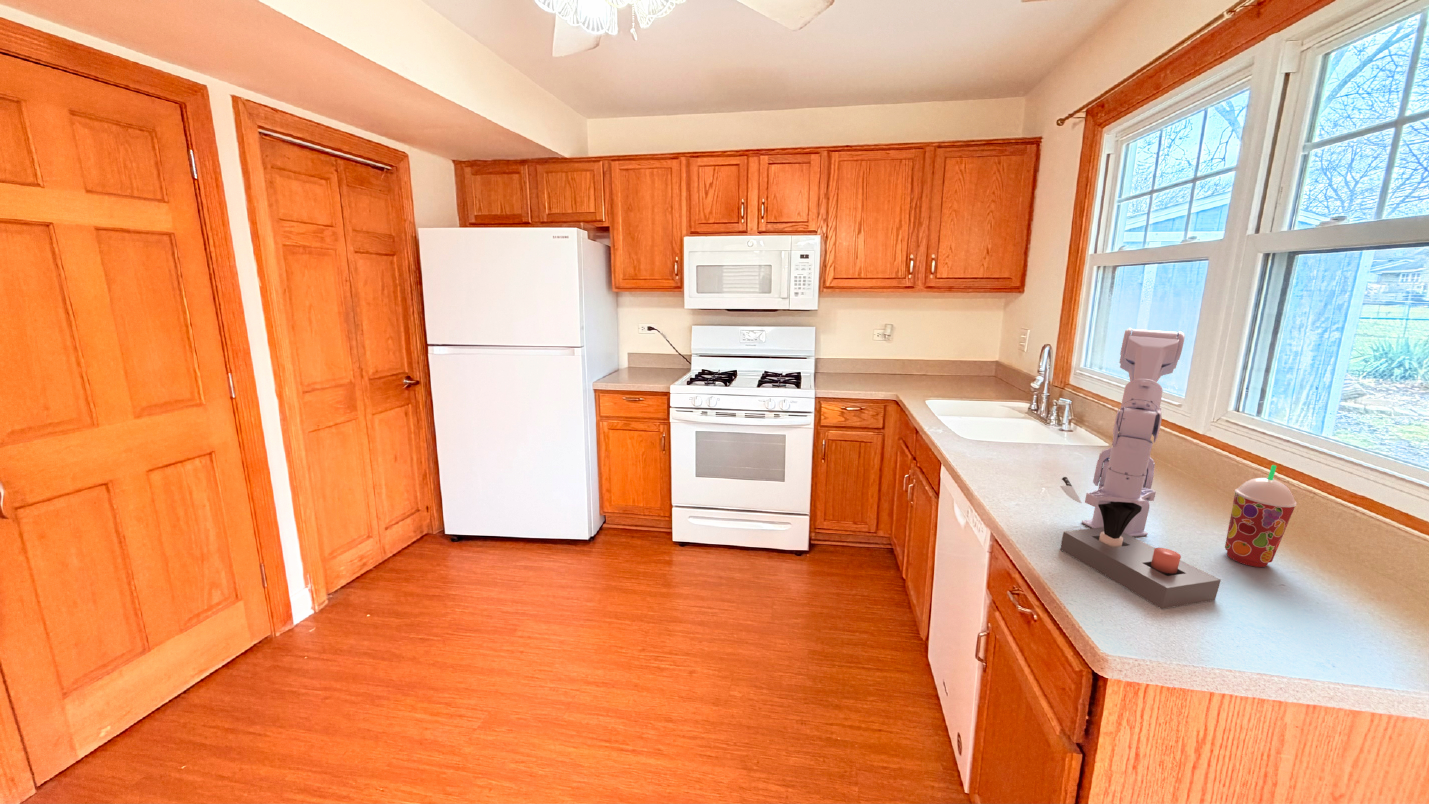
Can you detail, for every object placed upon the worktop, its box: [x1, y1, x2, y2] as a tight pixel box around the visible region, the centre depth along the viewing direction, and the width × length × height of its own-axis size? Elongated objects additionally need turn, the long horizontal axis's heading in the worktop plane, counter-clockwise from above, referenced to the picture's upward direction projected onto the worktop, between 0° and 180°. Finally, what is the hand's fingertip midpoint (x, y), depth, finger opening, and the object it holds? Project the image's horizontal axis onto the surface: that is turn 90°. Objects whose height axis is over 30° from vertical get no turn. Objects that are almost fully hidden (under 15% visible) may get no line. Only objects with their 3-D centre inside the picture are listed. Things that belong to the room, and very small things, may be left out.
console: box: [1060, 527, 1222, 610], centre depth 99 cm, size 12×20×4 cm, turn 14°
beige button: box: [1099, 532, 1123, 547], centre depth 104 cm, size 4×4×3 cm
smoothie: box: [1224, 464, 1298, 568], centre depth 103 cm, size 8×8×20 cm
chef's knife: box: [1059, 476, 1082, 504], centre depth 138 cm, size 19×1×3 cm
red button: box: [1151, 547, 1182, 574], centre depth 94 cm, size 4×4×3 cm
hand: (1111, 536), depth 103 cm, fingers closed, pressing on beige button
